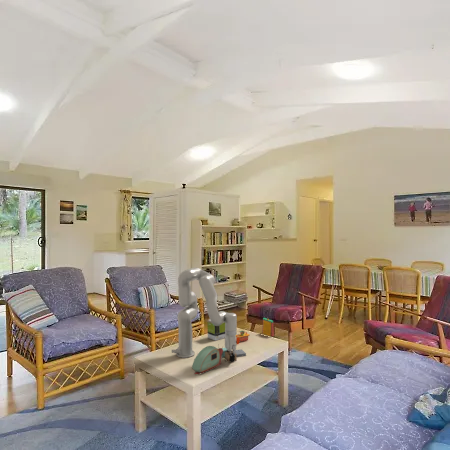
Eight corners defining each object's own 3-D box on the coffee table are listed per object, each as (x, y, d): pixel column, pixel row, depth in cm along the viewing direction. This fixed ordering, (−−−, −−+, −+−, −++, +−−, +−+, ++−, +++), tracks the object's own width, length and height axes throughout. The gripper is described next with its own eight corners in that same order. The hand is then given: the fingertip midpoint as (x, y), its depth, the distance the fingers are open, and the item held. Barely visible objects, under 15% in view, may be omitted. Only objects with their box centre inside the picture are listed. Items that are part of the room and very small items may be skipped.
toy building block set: (274, 337, 272) (274, 319, 272) (238, 345, 253) (238, 326, 253) (264, 333, 283) (264, 316, 283) (229, 341, 264) (229, 322, 264)
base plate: (235, 358, 229) (235, 354, 229) (230, 354, 236) (230, 350, 236) (246, 357, 231) (246, 353, 231) (241, 352, 239) (241, 349, 239)
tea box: (221, 333, 281) (221, 316, 281) (229, 337, 273) (229, 318, 273) (207, 337, 271) (207, 319, 271) (214, 341, 263) (214, 322, 263)
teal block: (221, 358, 229) (221, 351, 229) (219, 355, 234) (219, 348, 234) (228, 357, 231) (228, 350, 231) (225, 354, 235) (225, 347, 235)
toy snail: (199, 377, 200) (199, 354, 200) (190, 374, 205) (190, 351, 205) (226, 364, 219) (226, 343, 219) (218, 361, 224) (218, 340, 224)
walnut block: (227, 362, 221) (228, 355, 221) (224, 359, 226) (225, 351, 226) (236, 361, 223) (236, 354, 223) (233, 358, 228) (233, 350, 228)
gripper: (221, 328, 231) (220, 355, 231) (230, 336, 215) (229, 365, 215) (231, 327, 234) (231, 354, 234) (241, 335, 218) (240, 363, 218)
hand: (230, 359), depth 225 cm, fingers closed on walnut block, 6 cm apart
